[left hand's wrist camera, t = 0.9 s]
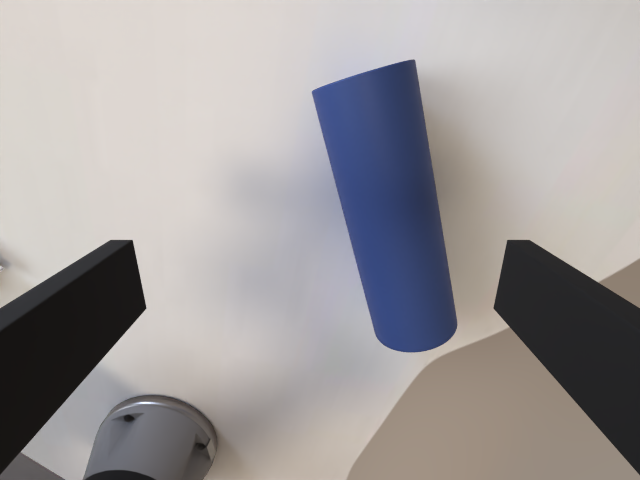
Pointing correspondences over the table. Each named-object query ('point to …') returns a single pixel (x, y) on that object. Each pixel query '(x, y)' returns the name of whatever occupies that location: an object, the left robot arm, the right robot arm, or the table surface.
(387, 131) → the rod
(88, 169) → the table surface
